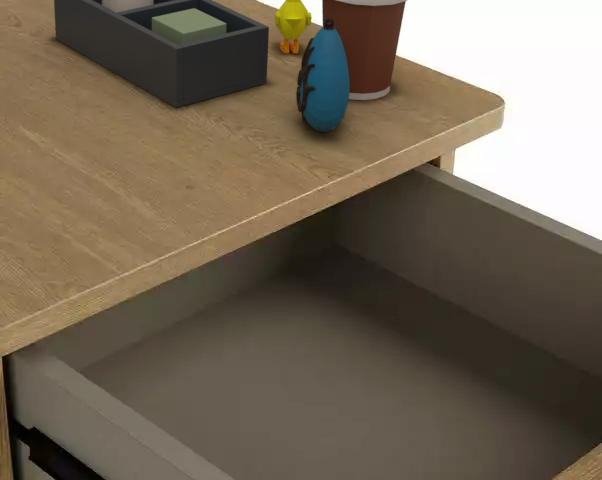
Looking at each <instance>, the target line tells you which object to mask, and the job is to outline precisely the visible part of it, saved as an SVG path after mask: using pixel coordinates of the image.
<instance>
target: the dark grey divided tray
mask: <svg viewBox="0 0 602 480" xmlns="http://www.w3.org/2000/svg"><path fill="white" fill-rule="evenodd" d="M53 6H54V8H53V9H54V30H55V40H56V41H58V42H60V43H62V44H64V46H65V45H66V46H67V47H69V48H70V49H73V51H76V52H78V53H79V54H81V55H83V56H84V57H86V58H88V59H89V60H91V61H94V62H95V63H97V64H98V65H101V66H102V67H104V68H105V69H107V70H109V71H110V72H112V73H115V74H116V75H118V76H120V77H121V78H123V79H125V80H127V81H128V82H129V83H132V84H134V85H136V86H137V87H139V88H140V89H142V90H144V91H146V92H147V93H149V94H151V95H153V96H154V97H157V98H159V99H160V100H161V101H164V102H165V103H167V104H169V105H170V106H172V107H174V108H180V107H184V106H188V105H191V104H195V103H199V102H203V101H206V100H209V99H214V98H217V97H221V96H225V95H228V94H232V93H236V92H239V91H243V90H247V89H250V88H254V87H258V86H262V85H265V84H267V82H268V57H269V37H270V36H269V35H270V27H269V26H267V25H266V24H264V23H261V22H259V21H257V20H255V19H253V18H250V17H249V16H246V15H244V14H242V13H240V12H238V11H237V10H234V9H232V8H229V7H228V6H225V5H223V4H221V3H219V2H217V1H214V0H153V5H150V6H145V7H140V8H136V9H131V10H126V11H122V12H117V13H116V12H114V11H112V10H110V9H108V8H106V7H104V6H102V0H53ZM193 8H195V9H197V10H199V11H201V12H204V13H206V14H208V15H210V16H212V17H214V18H216V19H218V20H220V21H222V22H224V23H226V24H227V25H226V34H222V35H217V36H213V37H209V38H205V39H201V40H196V41H192V42H188V43H184V44H179V45H178V44H176V43H174V42H172V41H170V40H168V39H166V38H164V37H162V36H160V35H158V34H156V33H155V32H153V31H152V17H157V16H161V15H166V14H170V13H175V12H179V11H184V10H188V9H193Z"/></svg>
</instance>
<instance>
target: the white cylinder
mask: <svg viewBox="0 0 602 480" xmlns="http://www.w3.org/2000/svg"><path fill="white" fill-rule="evenodd" d="M150 5H153V0H102V6H104V7H106V8H108V9H110V10H112V11H114V12H116V13H117V12H122V11H126V10H131V9H136V8H140V7H145V6H150Z"/></svg>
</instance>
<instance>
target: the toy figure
mask: <svg viewBox="0 0 602 480" xmlns="http://www.w3.org/2000/svg"><path fill="white" fill-rule="evenodd" d="M274 23H275V27H276V28H277V29H278V31H279V32H280V34H281V36H282V37H283V40H282V41H280V42H279V49H280V51H281V52H283V54H290V51H291V53H292V54H299V50H300V42H299V38H300V36H302V35H303V33H304V32H305V30H306V29H307V27H310V26H311V25H312V13H311V12H309V11H308V9H307V7H306V5H305V4H304V3H303V1H302V0H284V2H283V3H282V4H281V5H280V7H279V8H278V9H277V11H276V12H275V13H274ZM290 40H291V41H290ZM289 41H290V42H289Z"/></svg>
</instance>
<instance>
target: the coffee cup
mask: <svg viewBox="0 0 602 480" xmlns="http://www.w3.org/2000/svg"><path fill="white" fill-rule="evenodd" d="M321 1H322V2H321V3H322V6H321V7H322V12H321V13H322V27H324V22H325V20H326V19H327V18H332V19H333V20H334V29H335V30H336V31H337V32H338V34H339V36H340V38H341V41H342V44H343V47H344V51H345V55H346V59H347V65H348V72H349V100H354V101H355V100H357V101H359V100H360V101H367V100H368V101H369V100H377V99H379V98H383V97H385V96H387V94H389V93H390V91H391V83H392V77H393V72H394V67H395V62H396V58H397V56H396V55H397V52H398V47H399V40H400V35H401V30H402V29H401V28H402V23H403V18H404V12H405V7H406V2H407V1H408V0H321ZM327 24H331V22H328V23H327Z"/></svg>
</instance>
